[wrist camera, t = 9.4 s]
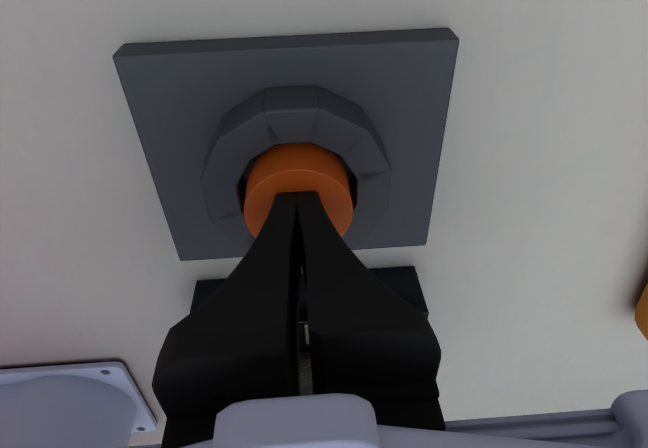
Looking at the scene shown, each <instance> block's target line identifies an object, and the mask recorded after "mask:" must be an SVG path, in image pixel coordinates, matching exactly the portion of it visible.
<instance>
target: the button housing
mask: <svg viewBox="0 0 648 448" xmlns="http://www.w3.org/2000/svg"><path fill="white" fill-rule="evenodd" d="M458 44H459V38H458V37H457V36H456V35H455V34H454V33H453V32H452V31H451V30H450V29H449V28H439V29H419V30H399V31H379V32H359V33H339V34H319V35H299V36H278V37H258V38H238V39H218V40H198V41H178V42H158V43H138V44H123V45H122V46H121V47H120V48H119V49H118V51H117V52H116V53H115V54H114V55H113V60H114V63H115V66H116V69H117V72H118V75H119V78H120V81H121V84H122V87H123V90H124V93H125V96H126V99H127V102H128V105H129V108H130V111H131V114H132V117H133V120H134V123H135V126H136V129H137V132H138V135H139V138H140V141H141V144H142V147H143V150H144V153H145V156H146V159H147V162H148V165H149V168H150V171H151V174H152V177H153V180H154V183H155V186H156V189H157V192H158V195H159V198H160V201H161V204H162V207H163V210H164V213H165V216H166V219H167V222H168V225H169V228H170V231H171V235H172V238H173V241H174V244H175V247H176V250H177V253H178V256H179V259H180V261H187V260H203V259H218V258H233V257H244V256H245V254H246V253H247V251H248V250H249V248H250V247H251V245H252V243H253V242H254V240H255V239H256V238H255V237H254V236H253V235H252V233H251V232H250V230H249V229H248V227H247V224H246V222H245V218H244V205H245V197H246V188H247V180H248V175H249V172H250V169H251V167H252V165H253V164H254V162H255V161H256V160H257V159H258V158H259V157H260V156H261V155H262V154H263V153H264V152H266V151H267V150H269V149H271V148H273V147H275V146H277V145H280V144H289V143H312V144H316V145H318V146H320V147H323V148H325V149H327V150H328V151H330V152H331V153H333V154H334V155H335V156H336V157H337V158H338V159H339V160H340V162H341V163H342V165H343V166H344V168H345V171H346V174H347V178H348V183H349V189H350V194H351V199H352V205H353V216H352V220H351V223H350V225H349V227H348V229H347V231H346V232H345V234H344V235H343V236H342V239H343V240H344V241H345V243H346V244H347V246H348V247H349V248H350V249H351V250H356V249H372V248H387V247H403V246H418V245H426V241H427V235H428V229H429V223H430V216H431V210H432V204H433V198H434V192H435V186H436V179H437V173H438V167H439V161H440V155H441V149H442V143H443V136H444V130H445V124H446V118H447V112H448V106H449V100H450V93H451V87H452V81H453V75H454V69H455V63H456V57H457V50H458Z"/></svg>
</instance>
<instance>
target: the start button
mask: <svg viewBox="0 0 648 448" xmlns="http://www.w3.org/2000/svg"><path fill="white" fill-rule="evenodd" d="M299 191H317V192H318V193H319V196H320V199H321V202H322V204H323V207H324V209H325V211H326V213H327V215H328V216H329V218H330V220H331V222H332V223H333V225H334V227H335V228H336V230H337V231H338V233H339V234H340V236H341V237H342V236H343V235H344V234H345V232H346V231H347V229H348V227H349V225H350V223H351V220H352V216H353V205H352V199H351V194H350V189H349V183H348V178H347V174H346V171H345V168H344V166H343V165H342V163H341V162H340V160H339V159H338V158H337V157H336V156H335V155H334V154H333V153H331V152H330V151H328V150H327V149H325V148H323V147H320V146H318V145H316V144H312V143H289V144H280V145H277V146H275V147H273V148H271V149H269V150H267V151H266V152H264V153H263V154H262V155H261V156H260V157H259V158H258V159H257V160H256V161H255V162H254V164H253V165H252V167H251V169H250V172H249V175H248V180H247V188H246V197H245V205H244V218H245V222H246V224H247V227H248V229H249V230H250V232H251V233H252V235H253V236H254V237H255V238H256V237H257V235H258V233H259V232H260V230H261V228H262V226H263V224H264V222H265V220H266V218H267V216H268V213H269V211H270V209H271V206H272V203H273V200H274V197H275V195H276V194H277V193H283V192H299Z"/></svg>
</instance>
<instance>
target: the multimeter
mask: <svg viewBox="0 0 648 448" xmlns="http://www.w3.org/2000/svg"><path fill="white" fill-rule="evenodd" d="M635 321H636V324H637V326H638V328H639V329H640V331H641V332H642V333H643V335H644V336H645V337H646V339H647V340H648V283H647V285H646V287H645V289H644V291H643V293H642V295H641V298H640V300H639V302H638V304H637V306H636V310H635Z"/></svg>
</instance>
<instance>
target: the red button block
mask: <svg viewBox="0 0 648 448" xmlns="http://www.w3.org/2000/svg"><path fill="white" fill-rule="evenodd" d="M299 374H300V396H307V395H313V382H312V369H311V358H310V351H307V352H299Z"/></svg>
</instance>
